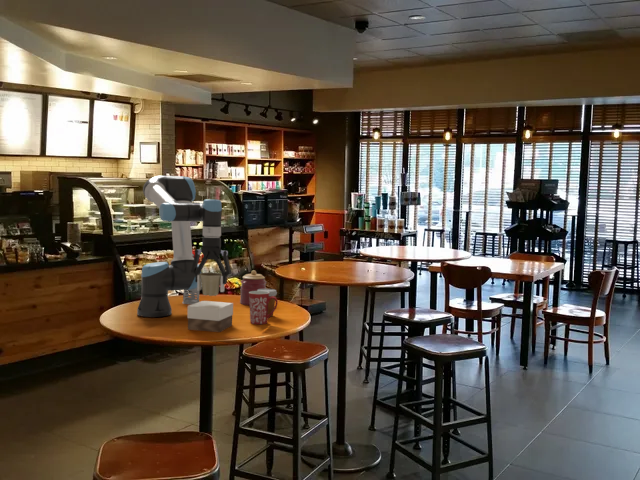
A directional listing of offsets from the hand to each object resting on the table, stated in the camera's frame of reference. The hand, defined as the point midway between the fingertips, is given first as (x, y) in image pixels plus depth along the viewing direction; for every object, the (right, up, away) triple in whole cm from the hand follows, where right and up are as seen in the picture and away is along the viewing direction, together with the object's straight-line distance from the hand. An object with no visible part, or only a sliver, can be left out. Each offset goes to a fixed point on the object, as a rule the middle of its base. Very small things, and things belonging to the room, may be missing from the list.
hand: (210, 290), depth 263 cm
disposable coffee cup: (+20, -14, +30) cm, 39 cm away
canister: (+12, -12, +57) cm, 59 cm away
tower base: (0, -16, +2) cm, 16 cm away
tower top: (0, -11, +1) cm, 11 cm away
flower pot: (0, -2, 0) cm, 2 cm away
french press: (-20, -11, +56) cm, 60 cm away
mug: (+20, -15, +13) cm, 29 cm away
